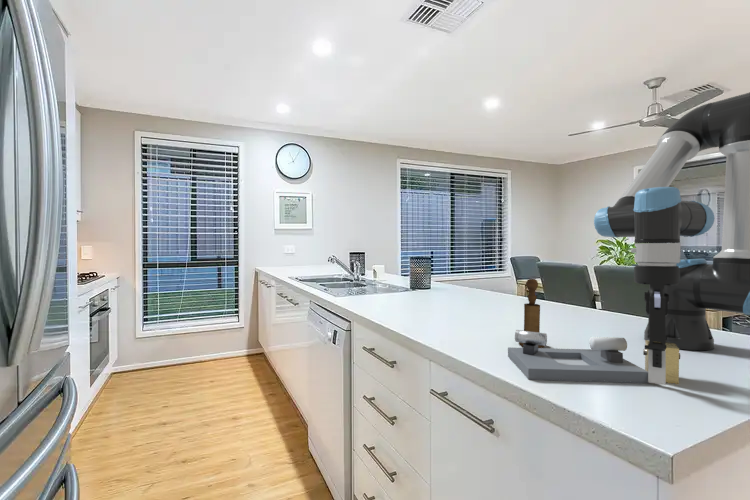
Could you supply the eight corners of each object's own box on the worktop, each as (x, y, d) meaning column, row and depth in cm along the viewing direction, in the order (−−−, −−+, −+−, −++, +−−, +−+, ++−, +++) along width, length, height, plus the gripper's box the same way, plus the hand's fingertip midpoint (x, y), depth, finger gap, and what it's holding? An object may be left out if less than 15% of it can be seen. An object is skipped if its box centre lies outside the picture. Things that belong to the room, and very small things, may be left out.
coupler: (677, 377, 79) (677, 343, 79) (681, 385, 75) (682, 349, 75) (642, 372, 82) (642, 339, 82) (644, 379, 78) (644, 345, 78)
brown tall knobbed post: (547, 349, 100) (547, 280, 100) (520, 348, 101) (521, 279, 101) (541, 343, 107) (542, 278, 106) (516, 341, 108) (517, 277, 108)
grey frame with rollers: (606, 358, 92) (607, 329, 92) (648, 383, 76) (649, 347, 76) (507, 356, 94) (508, 327, 94) (528, 379, 78) (528, 344, 78)
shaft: (547, 352, 90) (547, 331, 89) (543, 356, 86) (543, 335, 86) (518, 347, 93) (518, 328, 93) (513, 352, 90) (513, 331, 90)
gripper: (634, 262, 89) (634, 361, 89) (633, 266, 72) (632, 388, 72) (676, 263, 84) (675, 367, 84) (684, 267, 67) (684, 397, 68)
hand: (656, 377), depth 78 cm, fingers open, 8 cm apart
